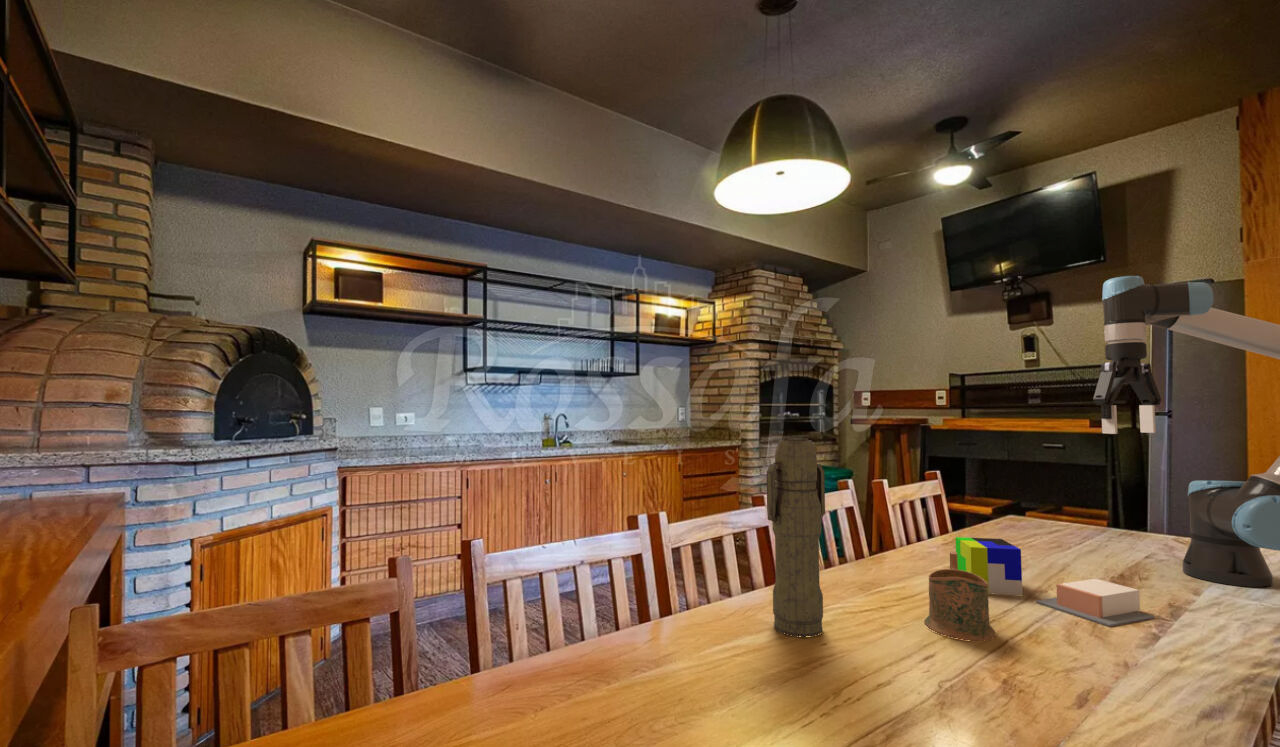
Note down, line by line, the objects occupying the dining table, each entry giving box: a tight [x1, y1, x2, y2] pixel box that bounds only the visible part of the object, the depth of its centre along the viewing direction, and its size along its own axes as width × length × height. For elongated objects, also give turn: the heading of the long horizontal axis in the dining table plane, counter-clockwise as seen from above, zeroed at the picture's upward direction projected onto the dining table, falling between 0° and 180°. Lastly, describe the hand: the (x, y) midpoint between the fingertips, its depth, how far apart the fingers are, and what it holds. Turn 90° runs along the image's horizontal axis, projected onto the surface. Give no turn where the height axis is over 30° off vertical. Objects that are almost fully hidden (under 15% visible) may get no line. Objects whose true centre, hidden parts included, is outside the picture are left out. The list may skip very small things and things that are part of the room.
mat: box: [1035, 596, 1155, 628], centre depth 116 cm, size 13×14×1 cm
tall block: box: [1056, 578, 1141, 618], centre depth 117 cm, size 4×8×12 cm
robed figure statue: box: [766, 437, 826, 638], centre depth 108 cm, size 9×12×35 cm
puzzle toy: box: [955, 536, 1023, 596], centre depth 131 cm, size 10×10×10 cm
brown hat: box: [923, 550, 997, 642], centre depth 110 cm, size 12×18×12 cm, turn 155°
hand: (1129, 433), depth 135 cm, fingers open, 13 cm apart
